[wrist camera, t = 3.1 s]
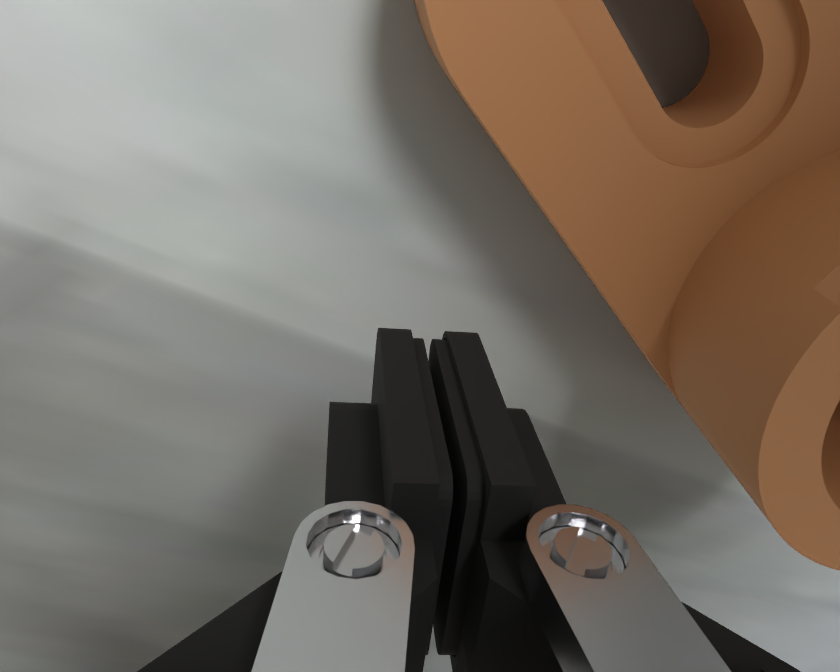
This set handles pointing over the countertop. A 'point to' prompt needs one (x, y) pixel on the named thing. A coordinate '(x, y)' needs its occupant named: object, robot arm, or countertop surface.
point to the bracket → (691, 213)
